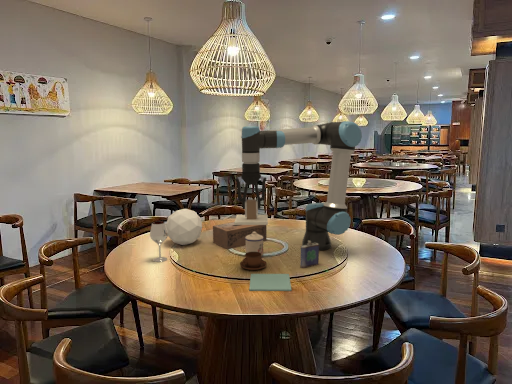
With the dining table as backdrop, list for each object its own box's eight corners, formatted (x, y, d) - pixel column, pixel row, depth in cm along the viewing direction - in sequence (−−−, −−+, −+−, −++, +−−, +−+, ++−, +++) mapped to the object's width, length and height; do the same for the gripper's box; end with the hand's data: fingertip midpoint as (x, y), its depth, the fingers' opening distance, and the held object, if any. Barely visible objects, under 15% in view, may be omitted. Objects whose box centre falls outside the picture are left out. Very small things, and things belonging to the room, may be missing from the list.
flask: (302, 268, 166) (303, 243, 164) (298, 266, 169) (298, 241, 167) (320, 264, 171) (320, 239, 169) (315, 262, 174) (316, 238, 172)
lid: (267, 217, 171) (267, 197, 170) (267, 224, 157) (267, 203, 156) (237, 217, 172) (236, 197, 170) (234, 225, 158) (234, 203, 156)
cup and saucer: (257, 274, 160) (257, 260, 159) (234, 269, 166) (234, 255, 165) (271, 265, 170) (271, 252, 169) (249, 261, 176) (249, 248, 176)
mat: (288, 275, 158) (288, 273, 158) (291, 290, 142) (291, 289, 142) (250, 275, 159) (250, 273, 159) (249, 290, 143) (249, 289, 143)
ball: (192, 252, 210) (212, 223, 213) (182, 250, 191) (204, 218, 193) (165, 234, 214) (185, 205, 217) (153, 230, 195) (175, 198, 197)
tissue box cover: (251, 235, 221) (251, 219, 219) (266, 241, 209) (266, 223, 208) (213, 243, 206) (212, 225, 204) (227, 249, 194) (226, 231, 193)
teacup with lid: (261, 258, 180) (261, 234, 178) (243, 257, 182) (242, 233, 180) (266, 250, 191) (266, 228, 189) (249, 249, 193) (249, 227, 191)
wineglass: (172, 257, 181) (170, 221, 178) (162, 263, 174) (161, 225, 171) (157, 256, 184) (156, 220, 181) (147, 261, 176) (145, 224, 173)
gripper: (270, 161, 164) (271, 214, 167) (231, 162, 164) (232, 214, 168) (271, 163, 156) (271, 218, 160) (230, 163, 157) (231, 218, 161)
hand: (251, 216), depth 164 cm, fingers closed on lid, 4 cm apart
